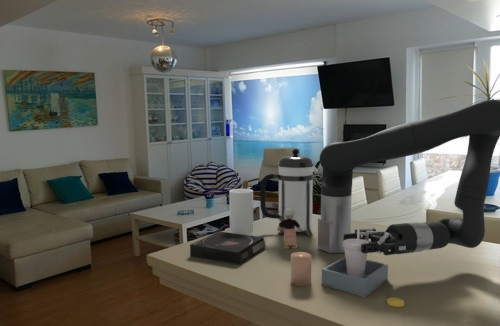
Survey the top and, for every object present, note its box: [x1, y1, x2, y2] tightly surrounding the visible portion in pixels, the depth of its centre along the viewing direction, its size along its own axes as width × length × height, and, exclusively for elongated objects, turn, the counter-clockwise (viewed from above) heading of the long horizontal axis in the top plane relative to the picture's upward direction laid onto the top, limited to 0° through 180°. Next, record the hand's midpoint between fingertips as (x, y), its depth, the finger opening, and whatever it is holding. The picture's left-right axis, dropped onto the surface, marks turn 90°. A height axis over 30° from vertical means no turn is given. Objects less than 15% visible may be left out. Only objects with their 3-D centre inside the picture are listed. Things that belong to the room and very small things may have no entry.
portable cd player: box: [189, 231, 266, 266], centre depth 127 cm, size 16×17×4 cm
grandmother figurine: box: [276, 208, 303, 249], centre depth 131 cm, size 8×4×13 cm, turn 94°
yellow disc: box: [386, 297, 405, 308], centre depth 91 cm, size 4×4×1 cm
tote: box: [321, 256, 389, 298], centre depth 103 cm, size 13×11×4 cm
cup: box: [228, 188, 254, 236], centre depth 145 cm, size 8×8×16 cm
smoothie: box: [343, 223, 369, 279], centre depth 103 cm, size 6×6×14 cm
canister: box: [290, 251, 312, 287], centre depth 103 cm, size 5×5×7 cm
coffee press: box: [259, 148, 319, 237], centre depth 148 cm, size 17×16×30 cm
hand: (352, 243), depth 102 cm, fingers open, 8 cm apart
